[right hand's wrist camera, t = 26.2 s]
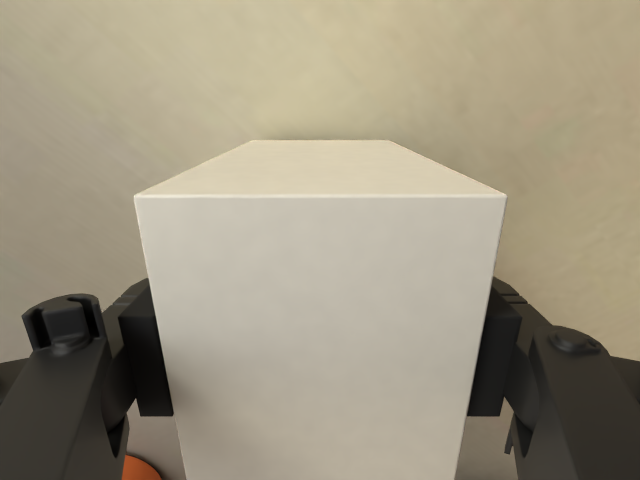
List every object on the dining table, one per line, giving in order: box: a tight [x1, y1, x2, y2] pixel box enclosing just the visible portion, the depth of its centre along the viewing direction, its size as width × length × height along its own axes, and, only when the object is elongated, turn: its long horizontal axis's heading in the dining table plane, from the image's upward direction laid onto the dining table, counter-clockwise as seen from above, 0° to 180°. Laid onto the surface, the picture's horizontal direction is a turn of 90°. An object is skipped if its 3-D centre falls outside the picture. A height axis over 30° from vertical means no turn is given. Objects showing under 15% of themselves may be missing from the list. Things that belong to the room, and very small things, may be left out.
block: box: [134, 140, 508, 480], centre depth 13 cm, size 8×7×12 cm
